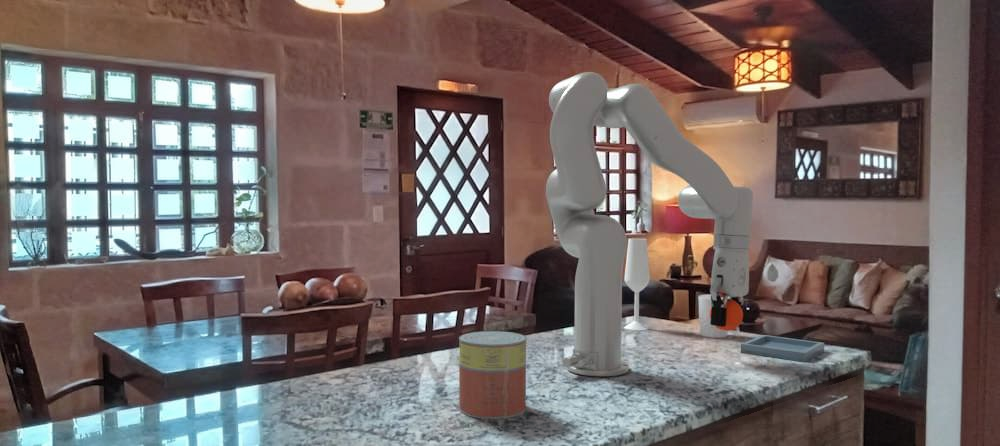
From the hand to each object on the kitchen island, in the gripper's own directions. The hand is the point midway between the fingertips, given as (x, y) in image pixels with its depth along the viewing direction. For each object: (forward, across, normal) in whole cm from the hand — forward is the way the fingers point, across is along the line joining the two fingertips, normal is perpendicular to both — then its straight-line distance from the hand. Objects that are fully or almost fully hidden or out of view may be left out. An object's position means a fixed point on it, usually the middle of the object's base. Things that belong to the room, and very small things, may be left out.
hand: (726, 323), depth 155 cm
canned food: (+11, -59, +15) cm, 62 cm away
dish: (+7, +16, -7) cm, 19 cm away
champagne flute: (+8, +20, +33) cm, 40 cm away
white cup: (+7, +24, +13) cm, 29 cm away
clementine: (+2, 0, 0) cm, 2 cm away
